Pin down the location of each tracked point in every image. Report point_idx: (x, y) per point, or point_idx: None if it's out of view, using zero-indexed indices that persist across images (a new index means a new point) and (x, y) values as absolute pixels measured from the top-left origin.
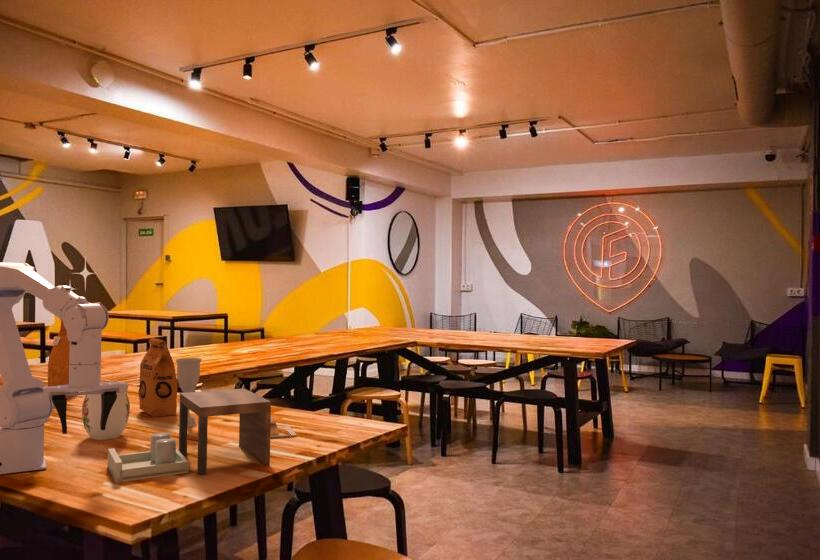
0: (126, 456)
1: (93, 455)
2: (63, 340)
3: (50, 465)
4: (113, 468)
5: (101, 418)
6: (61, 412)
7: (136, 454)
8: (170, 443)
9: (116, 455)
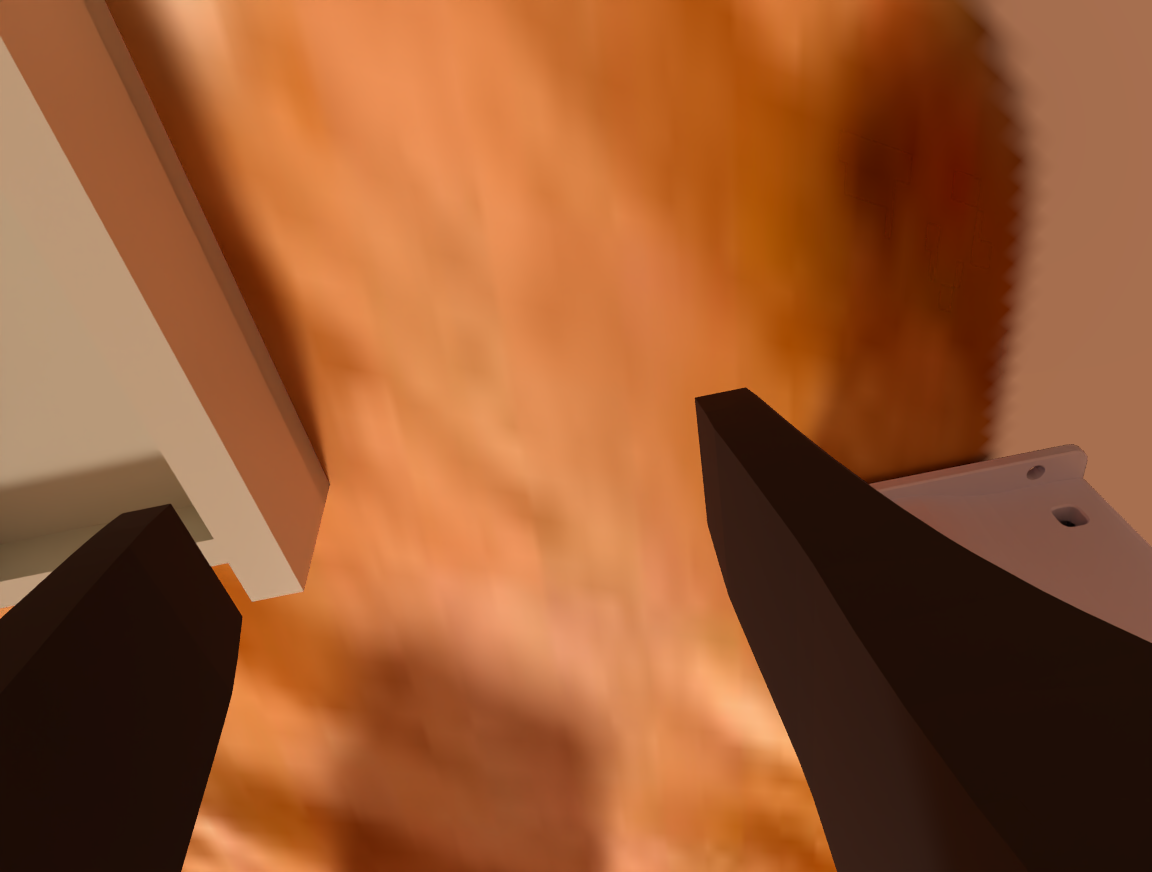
0: None
1: (488, 718)
2: None
3: None
4: (133, 169)
5: (159, 732)
6: (1003, 624)
7: None
8: None
9: (126, 362)
